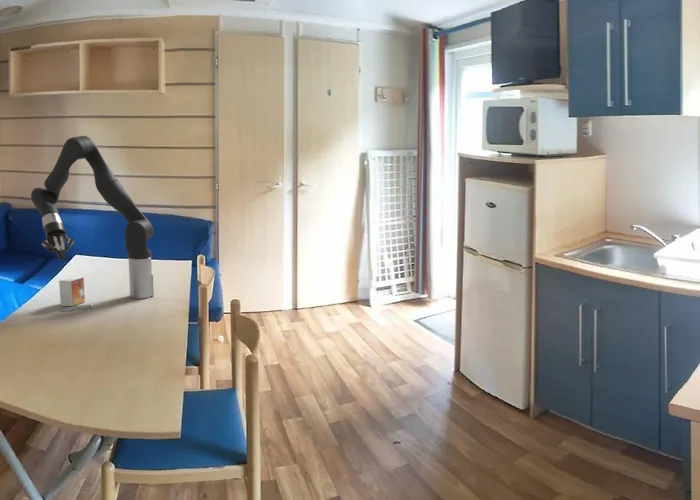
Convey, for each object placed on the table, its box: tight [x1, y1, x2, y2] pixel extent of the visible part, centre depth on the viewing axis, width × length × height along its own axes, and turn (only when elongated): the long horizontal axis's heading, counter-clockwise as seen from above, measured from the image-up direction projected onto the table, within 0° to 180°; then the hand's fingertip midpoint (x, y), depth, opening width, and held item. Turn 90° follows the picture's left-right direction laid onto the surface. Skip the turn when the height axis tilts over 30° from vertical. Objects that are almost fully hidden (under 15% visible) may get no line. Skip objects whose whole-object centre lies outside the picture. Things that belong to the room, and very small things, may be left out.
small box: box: [58, 276, 86, 307], centre depth 232 cm, size 8×6×10 cm
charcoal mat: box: [60, 304, 93, 313], centre depth 227 cm, size 11×5×1 cm, turn 121°
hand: (63, 259), depth 237 cm, fingers closed
